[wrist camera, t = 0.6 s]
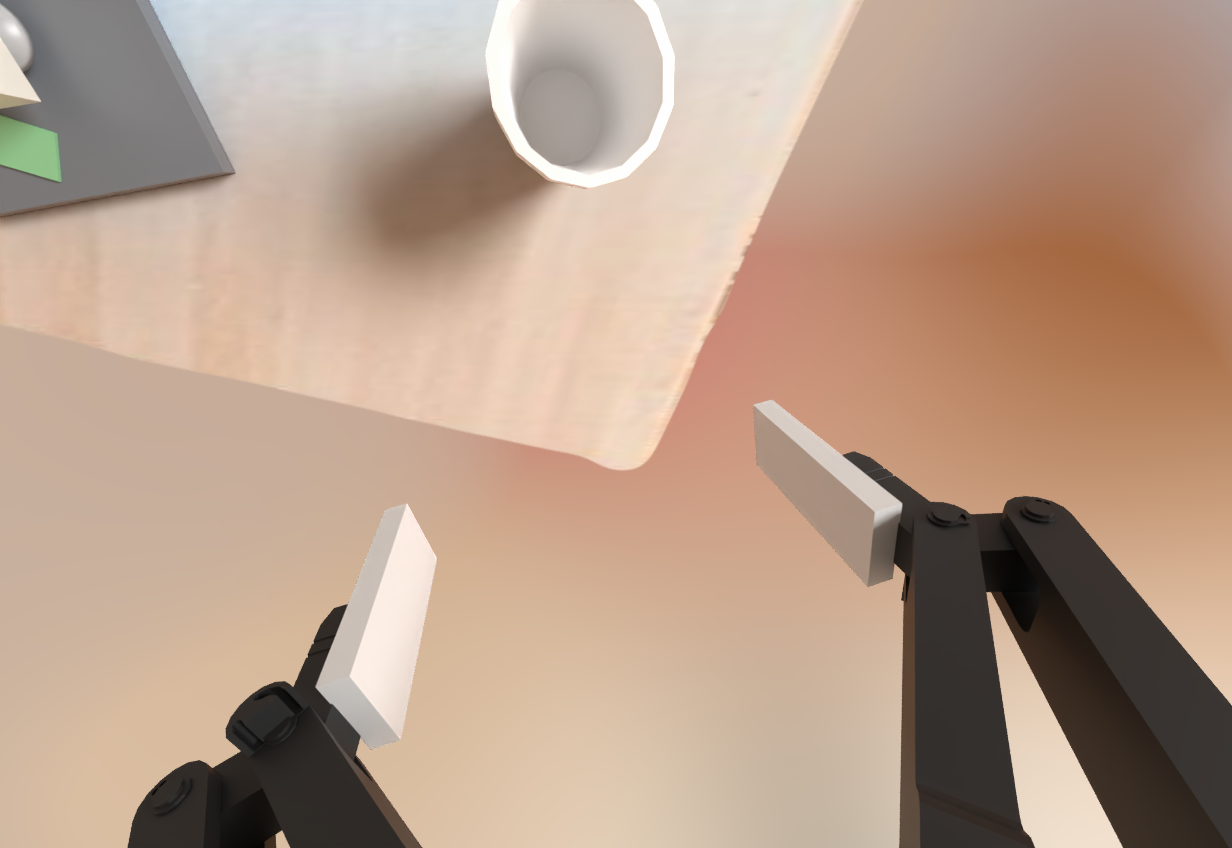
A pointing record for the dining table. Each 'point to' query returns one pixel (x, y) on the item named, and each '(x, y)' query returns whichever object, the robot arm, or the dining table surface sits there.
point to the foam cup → (581, 85)
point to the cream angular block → (15, 61)
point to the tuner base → (101, 109)
